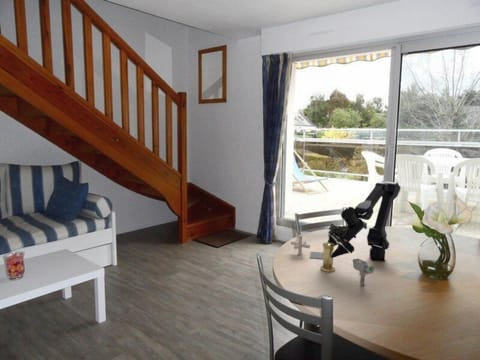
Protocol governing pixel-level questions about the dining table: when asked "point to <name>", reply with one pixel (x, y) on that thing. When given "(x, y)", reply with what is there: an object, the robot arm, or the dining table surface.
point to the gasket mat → (316, 255)
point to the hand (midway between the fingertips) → (327, 253)
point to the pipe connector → (300, 245)
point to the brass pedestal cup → (327, 257)
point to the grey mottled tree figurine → (362, 269)
